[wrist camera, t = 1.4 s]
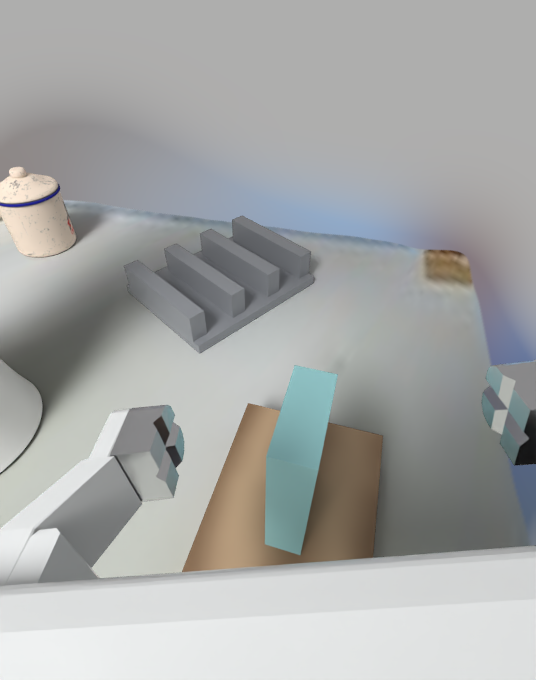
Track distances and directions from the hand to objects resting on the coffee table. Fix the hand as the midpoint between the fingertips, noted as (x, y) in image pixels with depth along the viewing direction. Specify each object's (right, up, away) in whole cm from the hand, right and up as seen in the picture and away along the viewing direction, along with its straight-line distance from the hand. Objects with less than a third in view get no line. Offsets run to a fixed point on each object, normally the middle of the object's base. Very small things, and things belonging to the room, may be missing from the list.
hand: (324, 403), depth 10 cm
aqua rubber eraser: (0, -11, +18) cm, 21 cm away
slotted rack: (-8, +9, +44) cm, 46 cm away
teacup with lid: (-38, +17, +53) cm, 67 cm away
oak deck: (0, -14, +21) cm, 25 cm away
